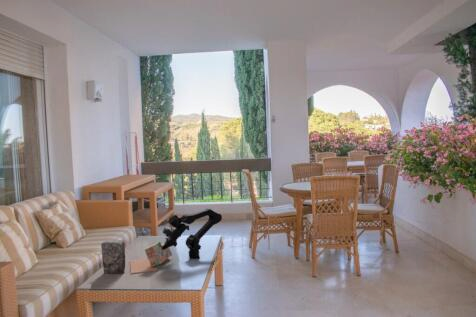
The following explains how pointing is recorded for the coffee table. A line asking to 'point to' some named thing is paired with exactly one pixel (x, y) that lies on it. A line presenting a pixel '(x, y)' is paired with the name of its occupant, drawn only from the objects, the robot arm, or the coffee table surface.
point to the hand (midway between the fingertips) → (162, 249)
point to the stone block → (113, 256)
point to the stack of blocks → (157, 254)
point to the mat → (141, 266)
